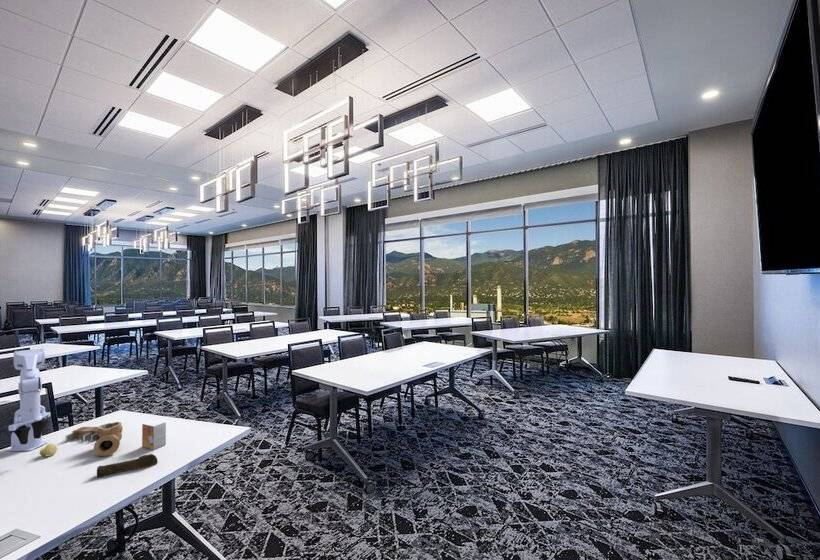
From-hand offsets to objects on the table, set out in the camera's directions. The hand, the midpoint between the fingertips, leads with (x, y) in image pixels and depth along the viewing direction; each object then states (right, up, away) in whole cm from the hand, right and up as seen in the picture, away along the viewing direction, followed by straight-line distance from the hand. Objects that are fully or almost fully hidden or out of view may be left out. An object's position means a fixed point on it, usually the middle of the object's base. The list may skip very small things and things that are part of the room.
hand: (30, 441), depth 147 cm
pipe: (+22, -10, +12) cm, 27 cm away
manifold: (+4, -9, +24) cm, 26 cm away
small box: (+40, -9, +15) cm, 44 cm away
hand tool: (+44, -10, -5) cm, 45 cm away
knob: (0, -10, +7) cm, 12 cm away
